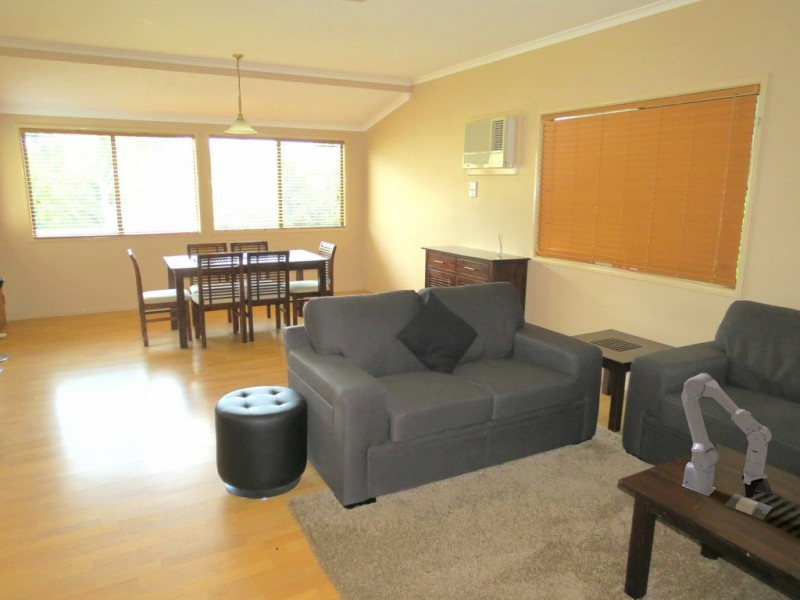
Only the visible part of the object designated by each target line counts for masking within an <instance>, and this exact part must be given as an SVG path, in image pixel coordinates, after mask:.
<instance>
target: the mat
mask: <svg viewBox="0 0 800 600" xmlns="http://www.w3.org/2000/svg"><path fill="white" fill-rule="evenodd" d="M742 497H744V498H746V499H749V500H752V501H754V502H757V503H758V506H757V508H756V510H755V511H754V512H753V514H752V515H750V516H751V517H754V518H757V519H759V520H762V521H763V520H764V519H765V518H766V516H767V515H768V514H769V512H770V511H771V509H773V506H770V505H768V504H765V503H763V502H760V501H759V500H758V501H757V500H755V499H752V498H751V497H746V496H744V495H741V494H738V493H737V492H736V493H734V494H733V495H732V496H731V497H730V498H729V500H727V501H726V502H725V504H724V506H726V507H728V508H731V509H734V510H736V511H738V512H742V511H739V510H737V509H735V508H736V504H737V503H738V501H739V500H740V499H741V498H742ZM742 513H744V512H742ZM744 514H746V515H748V514H747V513H744Z"/></svg>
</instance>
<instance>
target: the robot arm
mask: <svg viewBox="0 0 800 600" xmlns="http://www.w3.org/2000/svg"><path fill="white" fill-rule="evenodd" d="M682 389H683V390H682V393H681V402H682V405H683V409H684V413H685V417H686V421H687V424H688V428H689V432H690V436H691V440H692V447H691V454H692V456H691V461H689V462H687V464H686V465H685V468H684V474H683V481H682V485H681V486H682V488H686V489H688V490H692V491H694V492H697V493H699V494H702V495H704V496H707V497H710V495H712V493H713V492H714V491H715V490H716V489H717V488H716V487H714V486H713V485H714V478H715V471H716V466H715V464H716V463H717V462H718V461H719V460H720V455H719V452H718V451H717V450H716V449H715V447H714V443H713V442H711V441H710V440H709V436H708V432H707V429H706V425H705V422H704V418H703V414H702V410H701V407H700V402H699V399H701V397H706V398H711V399H712V398H713V399H714V401H716V402H717V403H718V404H719V405H721V406H722V408H724V409H725V410H726V412H728V413H729V415H730V419H731V421H732V422H733V423H734V424H735V425H737V427H738V428H739V429H740V430H741V431H742V432H743V433H744V434H745V435H746V439H747V442H748V446H747V452H746V457H745V462H744V468H743V469H742V471H743V473H744V475H743V476H742V475H741V479H742V482H743V484H744V492H745V496H748V497H749V498H753V497H754V496H755V494H756V489H757V487H758V485H759V484H760V483H761V482H762V480H763V478H764V479H767V478H768V475H767V474H765V473H764V471H765V465H766V461H767V456H768V455H767V454H768V446H769V442H770V441H771V440H772V438H773V436H772V435H773V434H772V431H771V430H770V429H769V427H768V426H765V425H762V423H759V422H758V421H757V420H756V419H755V418H754V417H753V416H752V413H751V412H750V411H747V410H746V409H743V408H739V406H738V405H737V404H736V403H735V402H734V401H733V400H732V399H731V397H729V395H728V394H727V393H726V392H725V391H724V390H723V389H722V388H721V386H720V384H719V383H718V381H717V380H715V379H714V378H713V377H712V376H711V375H710V374H709V373H706V372H701V373H699V374H697V375H694V376H692V377H689V378H688V379H687V380H686V381H685V382H684V383H683V388H682Z"/></svg>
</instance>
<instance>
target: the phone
mask: <svg viewBox="0 0 800 600" xmlns="http://www.w3.org/2000/svg"><path fill="white" fill-rule="evenodd" d="M743 475H744V473H743V470H742V471H741V477H742V476H743ZM766 479H767V478H766ZM766 479H764V478H763V480H762V482H761V483H760V484H759V485H758V487H757V489H756V492H757V493H763V494H766V495H767V494H768V495H771V494H772V490H771V488H770V486H769V483H768V482H767V480H766ZM756 492H755V493H756Z"/></svg>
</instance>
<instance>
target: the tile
mask: <svg viewBox="0 0 800 600" xmlns="http://www.w3.org/2000/svg"><path fill="white" fill-rule="evenodd" d="M744 497H745V496H744ZM744 497H742V498H741V499H740V500H739V501H738V503H737V504H736V508H735V509H734V510H736V509H737V510H736V511H738V510H739V511H738V512H741V511H742V513H743V512H744V514H746V513H747V514H746V515H749V516H751V515H752V514H753V512H754V511H755V510H756V508H757V506H758V503H757V502H754V501H752V500H753V499H752V500H749V499H746V498H744Z"/></svg>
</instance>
